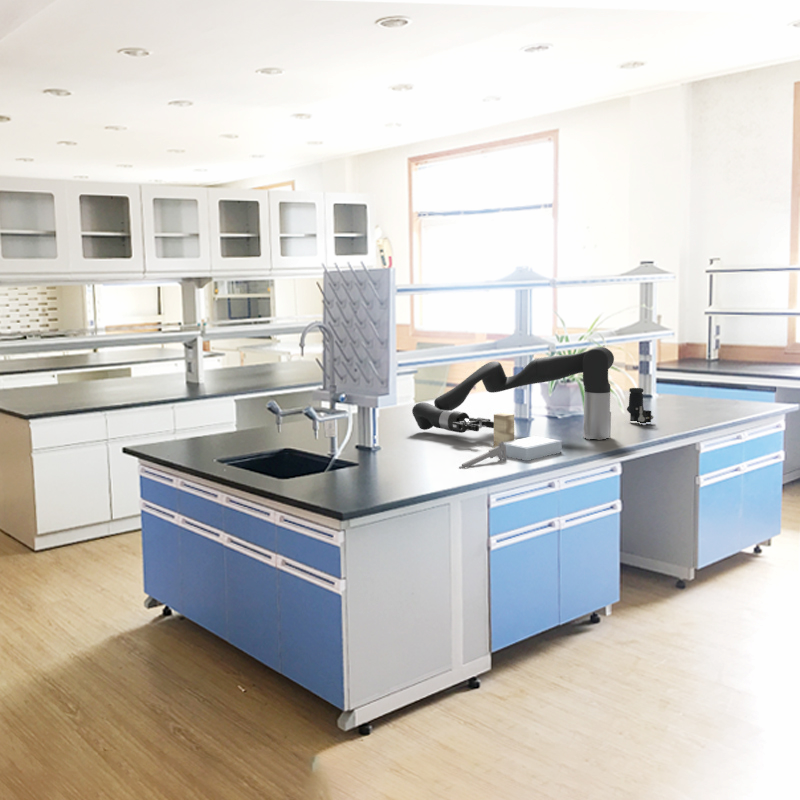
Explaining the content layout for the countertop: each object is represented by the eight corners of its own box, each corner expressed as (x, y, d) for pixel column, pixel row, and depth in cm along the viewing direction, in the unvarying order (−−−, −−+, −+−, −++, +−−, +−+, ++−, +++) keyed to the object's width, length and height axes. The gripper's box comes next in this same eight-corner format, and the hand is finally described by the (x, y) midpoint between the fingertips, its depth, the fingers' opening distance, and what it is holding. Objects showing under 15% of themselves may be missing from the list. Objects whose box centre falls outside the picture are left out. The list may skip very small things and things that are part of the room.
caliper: (503, 459, 278) (504, 440, 277) (506, 459, 277) (506, 441, 276) (458, 469, 265) (458, 449, 264) (461, 469, 264) (461, 449, 263)
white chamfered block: (534, 447, 295) (534, 435, 294) (561, 452, 286) (561, 440, 285) (499, 454, 283) (499, 442, 282) (526, 460, 274) (526, 447, 273)
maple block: (503, 446, 297) (503, 412, 295) (514, 448, 293) (514, 414, 291) (493, 448, 293) (493, 414, 292) (504, 450, 290) (504, 416, 288)
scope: (642, 391, 330) (621, 388, 338) (641, 426, 332) (620, 422, 340) (655, 389, 335) (634, 386, 343) (654, 423, 337) (633, 420, 345)
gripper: (440, 413, 305) (472, 418, 293) (467, 408, 314) (500, 413, 302) (440, 433, 306) (472, 440, 294) (467, 428, 316) (500, 434, 303)
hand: (486, 426), depth 298 cm, fingers open, 8 cm apart
